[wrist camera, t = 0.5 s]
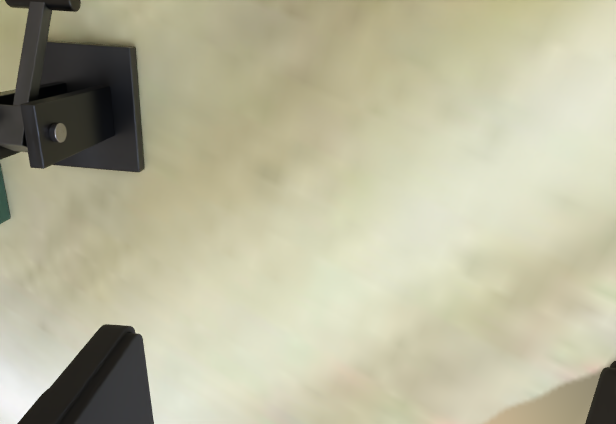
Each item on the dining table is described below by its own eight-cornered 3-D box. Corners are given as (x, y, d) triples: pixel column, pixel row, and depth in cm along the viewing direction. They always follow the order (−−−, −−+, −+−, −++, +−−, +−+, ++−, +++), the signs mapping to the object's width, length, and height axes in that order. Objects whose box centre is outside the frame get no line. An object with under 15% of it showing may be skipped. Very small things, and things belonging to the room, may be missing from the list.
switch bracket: (35, 39, 41) (-79, 44, 30) (135, 46, 41) (56, 54, 30) (53, 161, 45) (-42, 204, 34) (144, 168, 45) (77, 215, 34)
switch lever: (22, -5, 36) (0, -24, 34) (85, -1, 36) (67, -20, 33) (-4, 149, 35) (-29, 141, 32) (61, 155, 34) (41, 147, 32)
